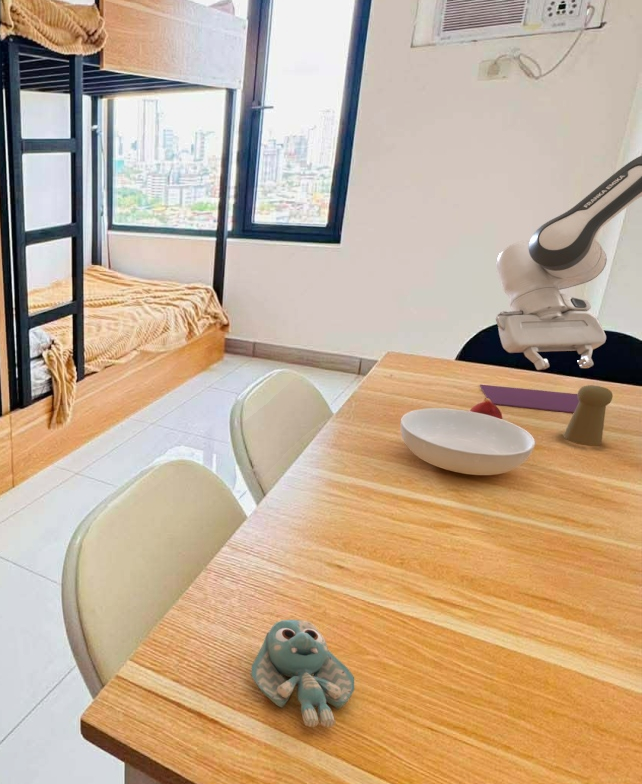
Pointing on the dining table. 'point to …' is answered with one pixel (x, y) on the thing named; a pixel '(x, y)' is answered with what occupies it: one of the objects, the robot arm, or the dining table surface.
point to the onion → (487, 409)
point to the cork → (589, 416)
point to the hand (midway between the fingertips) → (565, 367)
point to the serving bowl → (466, 441)
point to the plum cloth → (531, 398)
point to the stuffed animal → (302, 671)
